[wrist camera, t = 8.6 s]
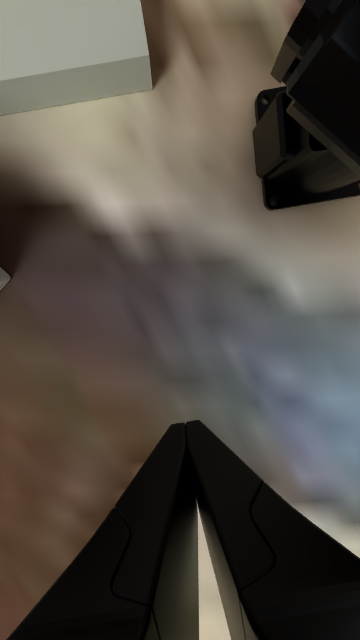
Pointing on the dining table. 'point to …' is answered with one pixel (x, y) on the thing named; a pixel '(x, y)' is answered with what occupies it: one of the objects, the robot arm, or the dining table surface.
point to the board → (70, 52)
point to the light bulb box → (3, 278)
